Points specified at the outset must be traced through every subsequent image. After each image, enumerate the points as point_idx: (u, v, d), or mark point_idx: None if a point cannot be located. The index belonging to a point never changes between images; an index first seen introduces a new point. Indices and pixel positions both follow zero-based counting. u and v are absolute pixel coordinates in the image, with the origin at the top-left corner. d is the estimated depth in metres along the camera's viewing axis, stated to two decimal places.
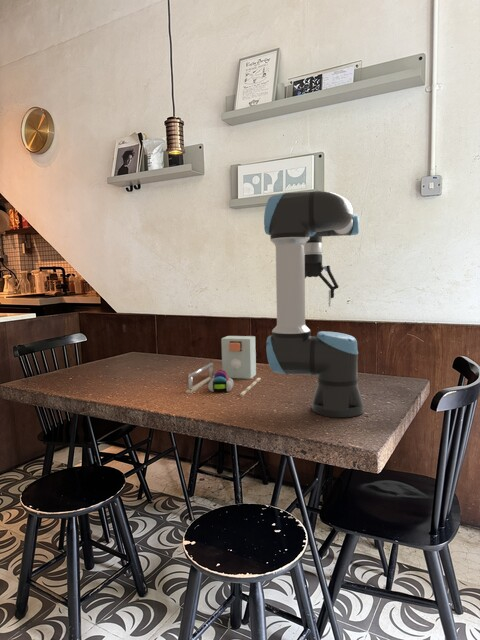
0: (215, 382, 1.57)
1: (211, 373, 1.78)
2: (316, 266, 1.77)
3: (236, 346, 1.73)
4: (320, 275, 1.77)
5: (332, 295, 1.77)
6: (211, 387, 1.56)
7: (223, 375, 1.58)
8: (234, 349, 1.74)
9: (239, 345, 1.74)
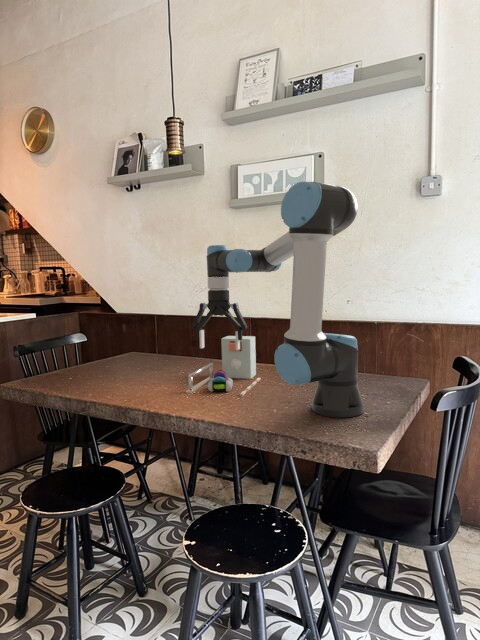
0: (215, 382, 1.57)
1: (211, 373, 1.78)
2: (222, 304, 1.55)
3: None
4: (226, 314, 1.55)
5: (240, 337, 1.55)
6: (210, 387, 1.56)
7: (222, 375, 1.58)
8: (234, 349, 1.74)
9: None
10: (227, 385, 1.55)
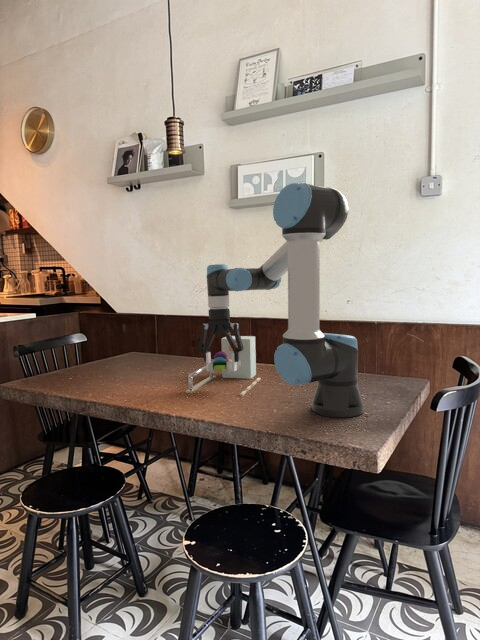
0: (215, 363, 1.56)
1: (211, 373, 1.78)
2: (223, 321, 1.56)
3: None
4: (225, 334, 1.55)
5: (236, 358, 1.56)
6: (211, 368, 1.54)
7: (223, 356, 1.56)
8: None
9: None
10: (228, 365, 1.54)
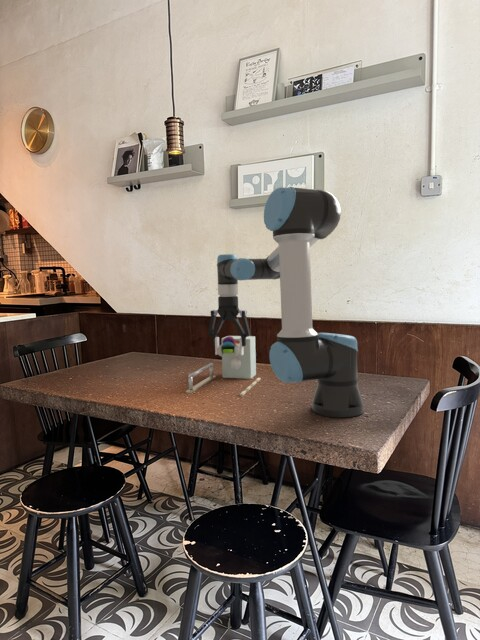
0: (224, 347, 1.66)
1: (211, 373, 1.78)
2: (232, 308, 1.65)
3: None
4: (234, 320, 1.65)
5: (243, 343, 1.66)
6: (220, 351, 1.65)
7: (231, 341, 1.67)
8: None
9: None
10: (235, 350, 1.64)
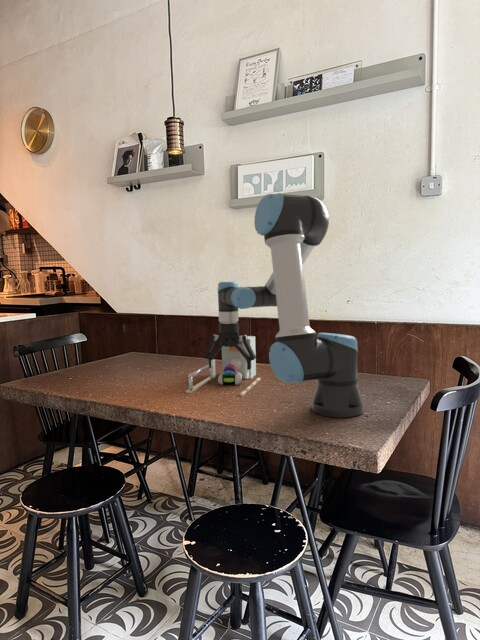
0: (225, 376, 1.67)
1: None
2: (232, 336, 1.66)
3: None
4: (236, 345, 1.66)
5: (249, 367, 1.66)
6: (221, 380, 1.66)
7: (232, 369, 1.67)
8: (234, 349, 1.74)
9: None
10: (236, 378, 1.65)
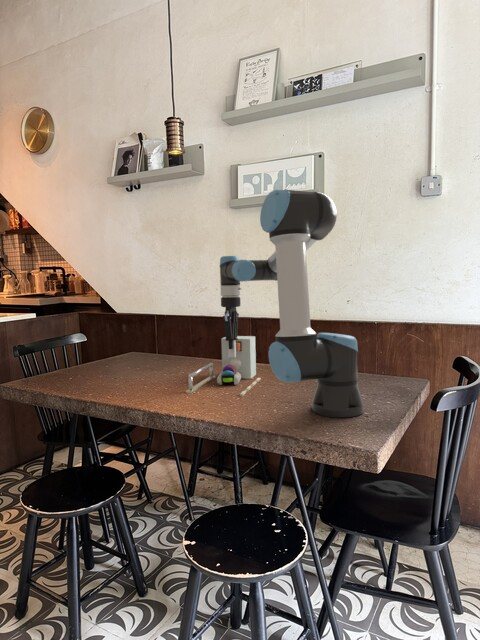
0: (224, 376, 1.67)
1: (211, 373, 1.78)
2: None
3: (236, 346, 1.73)
4: None
5: None
6: (220, 380, 1.66)
7: (231, 369, 1.67)
8: None
9: (239, 345, 1.74)
10: (235, 378, 1.65)
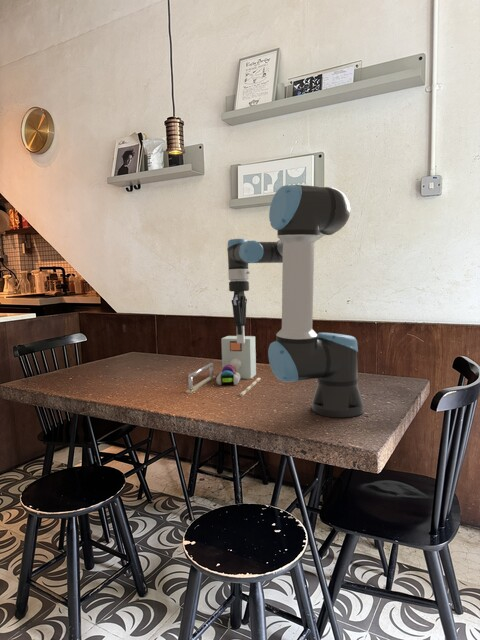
0: (223, 376, 1.67)
1: (211, 373, 1.78)
2: None
3: (238, 345, 1.75)
4: None
5: None
6: (219, 380, 1.65)
7: (230, 369, 1.67)
8: (236, 349, 1.75)
9: (240, 344, 1.76)
10: (235, 379, 1.65)
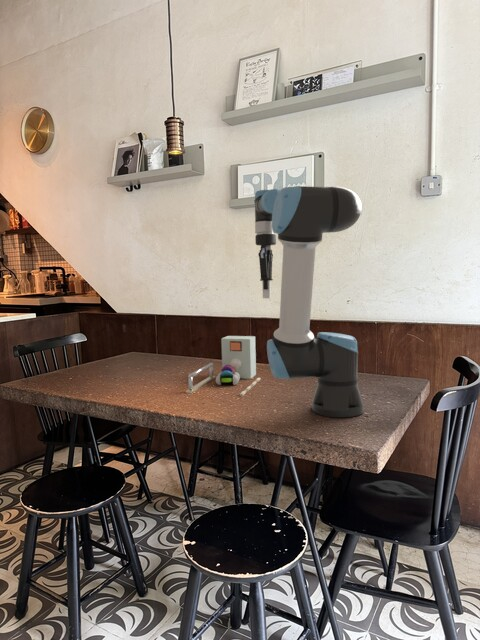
0: (222, 376, 1.67)
1: (211, 373, 1.78)
2: None
3: (238, 345, 1.75)
4: None
5: None
6: (218, 380, 1.65)
7: (230, 369, 1.67)
8: (236, 349, 1.75)
9: (240, 344, 1.76)
10: (234, 379, 1.65)
